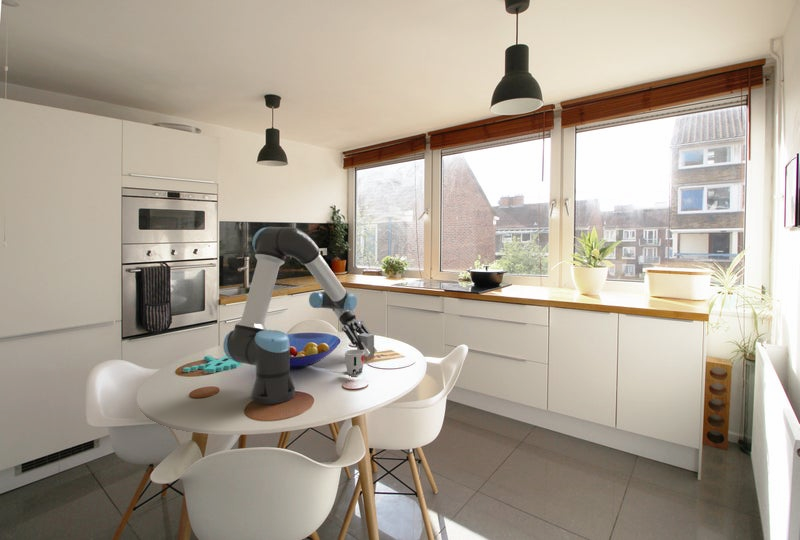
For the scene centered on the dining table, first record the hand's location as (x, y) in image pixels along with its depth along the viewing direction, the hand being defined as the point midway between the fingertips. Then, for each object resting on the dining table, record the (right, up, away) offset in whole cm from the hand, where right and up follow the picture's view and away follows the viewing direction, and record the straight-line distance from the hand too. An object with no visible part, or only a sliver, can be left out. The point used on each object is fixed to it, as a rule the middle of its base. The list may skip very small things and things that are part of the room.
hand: (371, 353), depth 187 cm
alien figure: (-69, -5, -4) cm, 70 cm away
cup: (-6, -6, -17) cm, 19 cm away
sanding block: (-3, -3, +2) cm, 5 cm away
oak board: (+2, -4, +5) cm, 7 cm away
